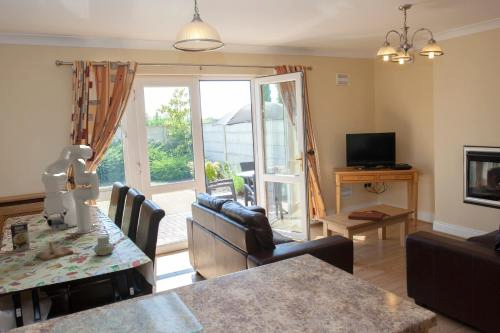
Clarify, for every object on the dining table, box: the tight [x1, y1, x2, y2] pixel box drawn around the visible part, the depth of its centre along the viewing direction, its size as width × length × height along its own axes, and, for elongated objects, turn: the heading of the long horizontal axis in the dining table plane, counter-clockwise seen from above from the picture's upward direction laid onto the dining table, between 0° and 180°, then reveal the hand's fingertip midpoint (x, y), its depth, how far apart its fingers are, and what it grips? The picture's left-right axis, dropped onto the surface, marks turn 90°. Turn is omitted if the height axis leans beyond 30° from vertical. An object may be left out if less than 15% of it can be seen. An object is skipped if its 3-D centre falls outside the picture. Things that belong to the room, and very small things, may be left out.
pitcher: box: [55, 187, 77, 228], centre depth 295 cm, size 24×17×28 cm
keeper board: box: [35, 241, 74, 262], centre depth 226 cm, size 16×14×8 cm
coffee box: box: [10, 222, 31, 252], centre depth 241 cm, size 9×6×16 cm
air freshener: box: [93, 235, 115, 256], centre depth 223 cm, size 11×8×10 cm
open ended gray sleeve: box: [48, 216, 69, 231], centre depth 230 cm, size 14×6×5 cm, turn 44°
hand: (56, 224), depth 232 cm, fingers closed on open ended gray sleeve, 6 cm apart
